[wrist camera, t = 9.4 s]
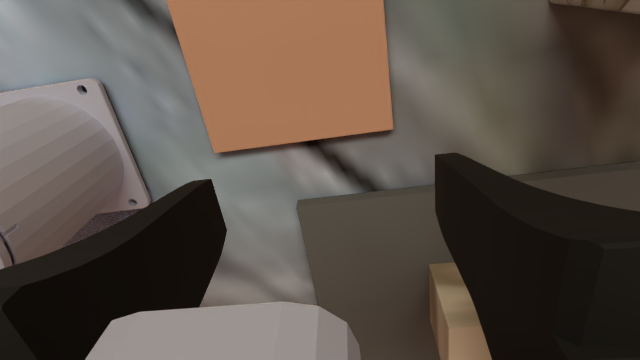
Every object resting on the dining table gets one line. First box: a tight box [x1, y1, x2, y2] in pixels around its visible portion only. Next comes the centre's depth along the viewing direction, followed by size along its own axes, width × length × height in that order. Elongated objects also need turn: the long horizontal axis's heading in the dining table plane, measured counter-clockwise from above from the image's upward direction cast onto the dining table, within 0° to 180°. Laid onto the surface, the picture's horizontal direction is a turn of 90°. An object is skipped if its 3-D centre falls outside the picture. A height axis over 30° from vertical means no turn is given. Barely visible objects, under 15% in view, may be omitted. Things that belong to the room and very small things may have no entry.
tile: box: [166, 0, 393, 153], centre depth 19 cm, size 10×10×1 cm
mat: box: [297, 161, 640, 360], centre depth 25 cm, size 20×16×1 cm
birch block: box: [429, 262, 492, 360], centre depth 23 cm, size 5×5×5 cm
